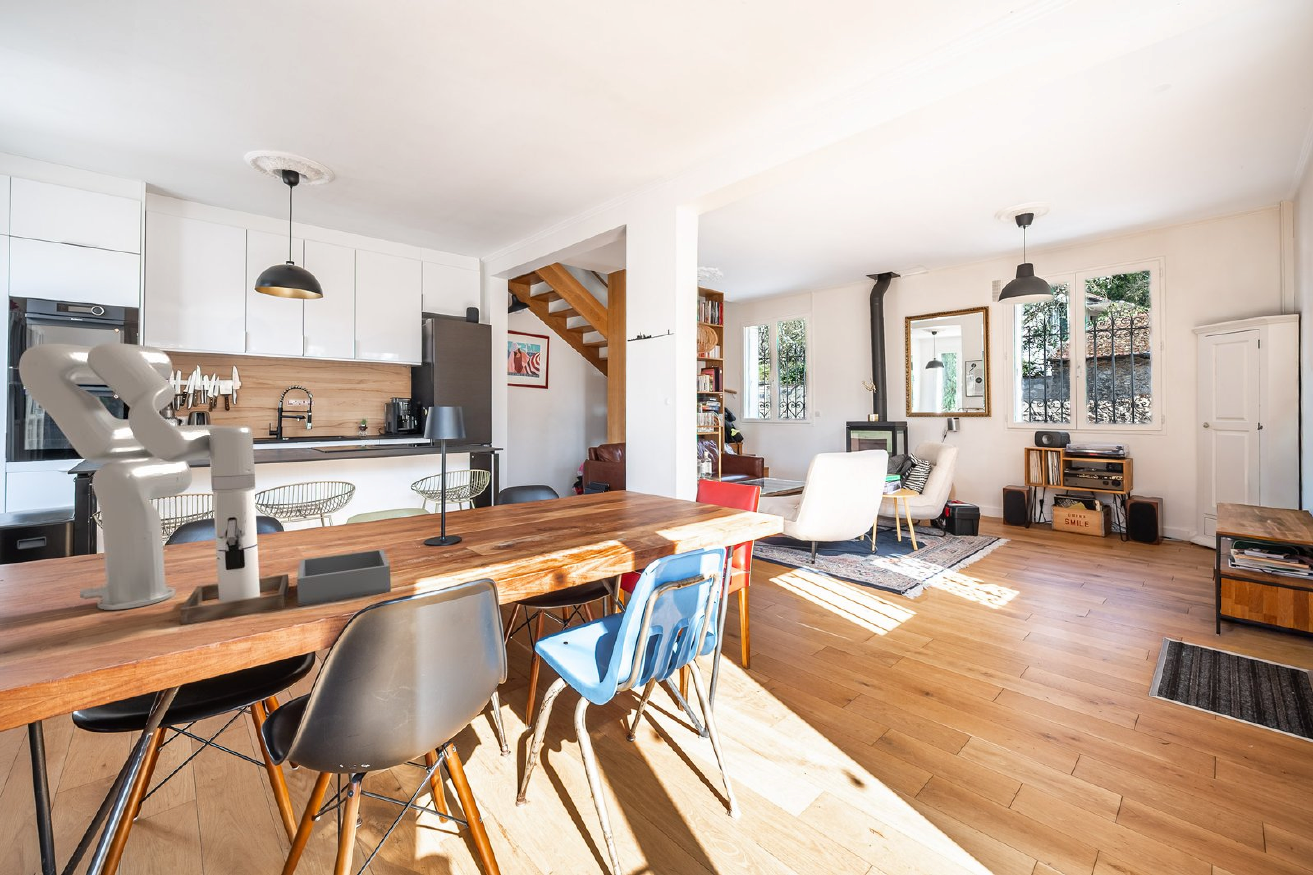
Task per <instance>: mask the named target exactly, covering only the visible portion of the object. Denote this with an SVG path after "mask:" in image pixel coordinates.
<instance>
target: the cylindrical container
mask: <svg viewBox="0 0 1313 875" xmlns="http://www.w3.org/2000/svg"><path fill="white" fill-rule="evenodd" d="M245 492H246V502H247V531H246V535H245V536H243V538H242V549H244V556H245V567H244V568H241V569H233V570H226V563H225V551H226V550H225V547H226V533H225V536H224V537H221V538H222V539H219V538H217V494H218V492H212V494H213V495H212V496H213V497H212V498H213V514H214V515H213V518H214V532H215V534H214V535H215V551H216V570H217V584H218V591H219V598H218V603H219V602H226V601H233V600H239V599H246V598H253V597H259V596H261V594H260V593H261V592H260V587H259V578H260V572H259V571H260V570H259V552H258V533H257V529H258V528H257V512H256V493H255V492H256V488H255V489H251V490H245ZM226 531H228V529H227V530H226ZM236 535H240V530H239V528H237V524H236ZM238 540H239V539H238ZM238 542H239V541H238Z"/></svg>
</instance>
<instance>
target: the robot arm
mask: <svg viewBox="0 0 1313 875" xmlns="http://www.w3.org/2000/svg"><path fill="white" fill-rule="evenodd" d="M18 372H19V378H20V380H21V384H22V385H23V387H24V388H25V390H26V392H27V394H28V395H29V396H30V397H31V398H32V399H33V400H34V401H35V402H36V403H37V404H38V405H39V406H40V407H41V408H42V409H43V410H44V411H45V412H46V414H48V415H49V416H50V417H51V418H52V420H53V421H54V423H55V424H56V426H57V427H58V428H59V429H60V431H61V432H62V434H63V435H64V437H66V439H67V440H68V442H69V443H70V444H71V445H72V448H73V449H74V450H75V451H76V452H77V453H78V454H79V456H81V458H82V459H84V460H85V461H87V462H90V463H96V464H100V463H101V464H102V463H105V464H102V465H101V466H100V467H98V469H97V470H96V471H95V472H94V474H93V477H92V488H93V491H94V495H95V497H96V500H97V504H98V506H99V511H100V517H101V525H102V526H101V528H102V536H103V538H102V539H103V552H104V566H105V584H102V585H101V586H100V587H89V588H81V589H80V591H79V597H80V598H81V599H84V600H89V599H95V598H99V599H100V600H98V602H97V608H98V609H100V610H103V609H104V610H105V611H106V610H107V611H114V610H126V609H134V608H138V607H140V608H141V607H145V606H149V605H152V604H156V603H159V602H162V601H165V600H168V599H169V598H171V597H173V596H174V595H175V594H176V589H175V588H174V587H172V586H167V585H166V575H165V574H166V572H165V571H166V570H165V559H164V558H165V555H164V541H163V539H164V538H163V527H162V526H163V525H162V518H161V515H160V513H159V512H158V510H157V509H156V507H155V506H154V505H153V504H152V502H151V501H150V500H153V499H160V498H165V497H171V496H176V495H179V494H181V493H184V492H185V491H186V490H188V488H189V487H191V485H192V482H193V474H192V473H193V472H192V470H191V468H190V465H189V463H188V461H189V462H192V461H203V460H204V461H205V460H209V462H210V464H209V465H210V466H209V467H210V480H211V482H210V483H211V484H210V485H211V492H212V493H213V492H218V494H217V538H219V539H222V538H221V537H224V536H225V533H226V547H225V550H226V551H225V563H226V570H233V569H241V568H244V567H245V556H244V549H242V538H243V536H245V535H246V531H247V502H246V492H245V490H251V489H255V490H256V476H255V474H256V473H255V455H254V452H255V451H254V437H253V436H254V435H253V430H252V428H250V427H249V426H247V425H246V426H245V425H218V424H217V425H216V424H198V425H197V424H189V425H187V424H186V425H173V424H171V422H169V421H168V420H167V419H165V418H164V416H163V415H161V414H160V411H162V410H164V409H165V408H166V407H167V406H169V404H170V403H172V402H173V400H174V398H175V396H176V390H175V388H174V386H173V385H172V384H171V383H170V382H169V381H168V380H167V379H169V378H170V376H171V375H172V373H173V363H172V360H171V358H170V357H169V356H168V354H166V352H164V351H163V350H161V349H160V348H157V347H154V346H150V345H149V346H148V345H140V344H132V343H131V344H130V343H121V342H106V343H102V344H98V345H96V346H89V345H80V344H79V345H78V344H68V343H43V344H36V345H33V346H31V347H29V348H28V349H26V350H25V351H24V352H23V353H22V355H21V357H20V359H19V364H18ZM77 384H87V385H89V384H90V385H106V386H107V387H108V388H109V389H110V390H111V391H113V393H114V394H116V395H117V397H119V398H120V400H122V401H123V403H125V404H126V405H127V406H128V408H129V411H128V418H127V419H120V418H117V417H115V416H114V415H112V414H111V412H110V411H109V410H108V409H107V408H106V406H105V404H104V403H103V402H102V401H101V400H100V399H99V398H98V397H96V395H94V394H92V393H90V391H87V390H85V389H84V388H82V387H80V386H79V385H77ZM236 524H237V528H239V530H240V535H236ZM227 529H228V531H226V530H227ZM238 539H239V540H238ZM238 541H239V542H238Z"/></svg>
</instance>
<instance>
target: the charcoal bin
mask: <svg viewBox="0 0 1313 875" xmlns="http://www.w3.org/2000/svg"><path fill="white" fill-rule="evenodd" d="M296 576H297V578H296V587H297V604H298V605H297V606H298V607H302V605H304V606H308V605H307V604H310V605H315V604H321V603H328V602H329V603H330V602H334V601H333V600H335V601H342V600H347V599H353V598H352V597H354V598H358V597H357V596H360V597H364V596H363V595H366V596H371V595H372V596H373V595H376V594H377V595H378V594H384V592H385V593H391V592H392V587H391V566H390V563H389V561H388V558H387V555H386V553H385V550H384V549H383V548H382V549H373V550H365V551H358V552H347V553H342V554H341V553H340V554H335V555H334V554H333V555H326V556H318V557H311V558H302V559H299V564H298V571H297V575H296ZM390 591H391V592H390Z"/></svg>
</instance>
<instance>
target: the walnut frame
mask: <svg viewBox="0 0 1313 875" xmlns="http://www.w3.org/2000/svg"><path fill="white" fill-rule="evenodd" d="M289 581H290V580H289V573H287V574H279V575H271V576H264V577H263V576H262V577H259V587H260V593H261V592H266V591H267V592H268V591H274V590H278V593H274V594H267V595H260V596H259V597H253V598H246V599H239V600H233V601H226V602H219V601H218V602H214V603H207V604H202V602H203V601H208V600H211V599H212V600H213V599H219V591H218V583H212V584H204V585H198V586H196V587H195V588H194V590H193V591H192V592H191V594H190V596H189V597H188V599H187V600H185V603H184V604H183V605H182V607H181V608H180V610H179V611H180V615H179V616H180V625H187V624H188V625H189V624H191V623H193V624H194V623H200V622H207V621H211V620H219V619H224V618H225V619H226V618H229V617H230V618H231V617H237V616H238V617H239V616H243V615H249V614H254V613H255V614H256V613H262V612H268V611H274V610H280V609H285V608H286V602H287V598H288V594H289V593H288V592H289V588H290V585H289V584H290V582H289Z"/></svg>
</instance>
